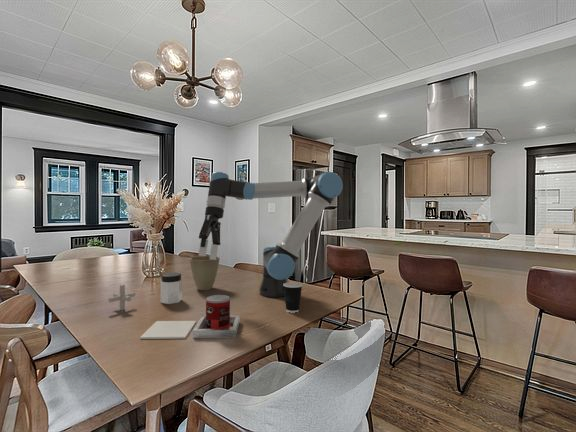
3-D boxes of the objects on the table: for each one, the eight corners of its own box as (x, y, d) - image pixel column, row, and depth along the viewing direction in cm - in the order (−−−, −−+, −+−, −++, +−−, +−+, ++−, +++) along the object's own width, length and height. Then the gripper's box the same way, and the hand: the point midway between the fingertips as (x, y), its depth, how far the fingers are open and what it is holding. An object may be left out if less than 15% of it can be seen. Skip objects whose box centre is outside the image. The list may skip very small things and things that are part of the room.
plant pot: (184, 288, 159) (184, 257, 159) (210, 283, 169) (211, 254, 169) (197, 294, 148) (198, 261, 148) (224, 289, 158) (225, 258, 158)
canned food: (207, 325, 108) (208, 294, 108) (230, 325, 109) (231, 294, 108) (203, 334, 100) (204, 301, 100) (228, 334, 101) (228, 301, 101)
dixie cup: (301, 308, 129) (302, 282, 129) (302, 314, 121) (303, 286, 121) (283, 307, 129) (283, 281, 129) (282, 314, 121) (282, 286, 121)
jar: (162, 305, 130) (162, 277, 130) (158, 300, 137) (158, 273, 137) (184, 302, 135) (184, 275, 135) (179, 297, 142) (179, 271, 142)
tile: (195, 322, 111) (195, 320, 111) (185, 338, 97) (185, 336, 97) (156, 322, 110) (156, 321, 110) (139, 339, 96) (139, 337, 96)
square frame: (239, 322, 112) (239, 315, 112) (235, 337, 98) (235, 330, 98) (202, 322, 111) (202, 315, 111) (192, 338, 97) (192, 330, 97)
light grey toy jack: (116, 315, 117) (116, 289, 117) (102, 310, 122) (102, 285, 122) (141, 308, 126) (141, 284, 125) (127, 304, 131) (127, 280, 131)
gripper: (215, 214, 143) (208, 260, 137) (196, 198, 118) (187, 253, 113) (231, 215, 142) (224, 261, 137) (215, 199, 118) (206, 254, 113)
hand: (207, 257), depth 125 cm, fingers open, 13 cm apart
